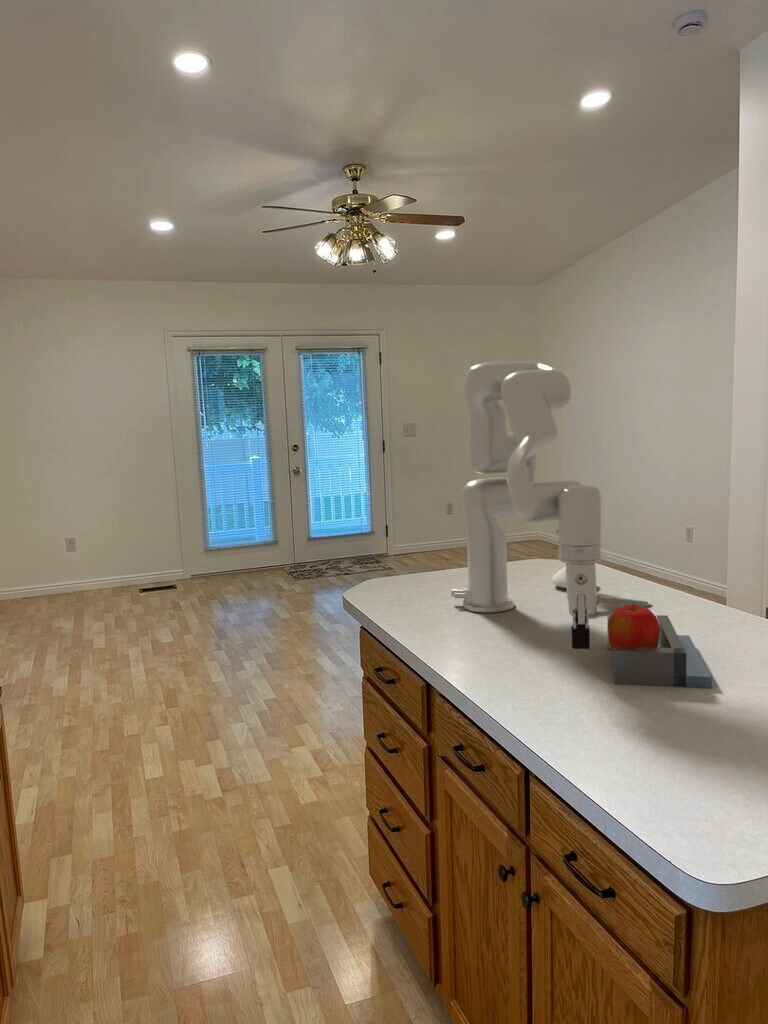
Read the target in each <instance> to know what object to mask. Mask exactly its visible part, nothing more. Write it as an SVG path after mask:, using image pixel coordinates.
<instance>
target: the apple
mask: <svg viewBox="0 0 768 1024" xmlns="http://www.w3.org/2000/svg"><path fill="white" fill-rule="evenodd" d="M634 604H635V603H633V605H621V606H619V607H618V608H617V609H615V611H613V612H612V613H611V614H610V615H611V616H610V619H609V622H608V624H607V623H606V624H607V625H608V633H609V640H610V643H611V646H612V649H611V650H612V652H613V653H614V646H628V647H657V646H658V644H659V635H660V627H659V624H658V621H657V615H655V614H654V613H653V611H652V610H650V609H649V608H648V607H640V606H634ZM607 625H606V626H607Z"/></svg>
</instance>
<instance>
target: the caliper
mask: <svg viewBox="0 0 768 1024" xmlns="http://www.w3.org/2000/svg"><path fill="white" fill-rule="evenodd" d="M596 596H597V607H598V606H599V604H609V605H617V606H625V605H633V603H635V604H634V606H640V607H645V608H648V607H653V606H654V605H653V604H652V603H649V602H648V601H647V600H641V599H640V600H639V599H631V598H621V597H613V596H611V597H610V596H603V595H602V596H601V595H600V594H599V593H596Z"/></svg>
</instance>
